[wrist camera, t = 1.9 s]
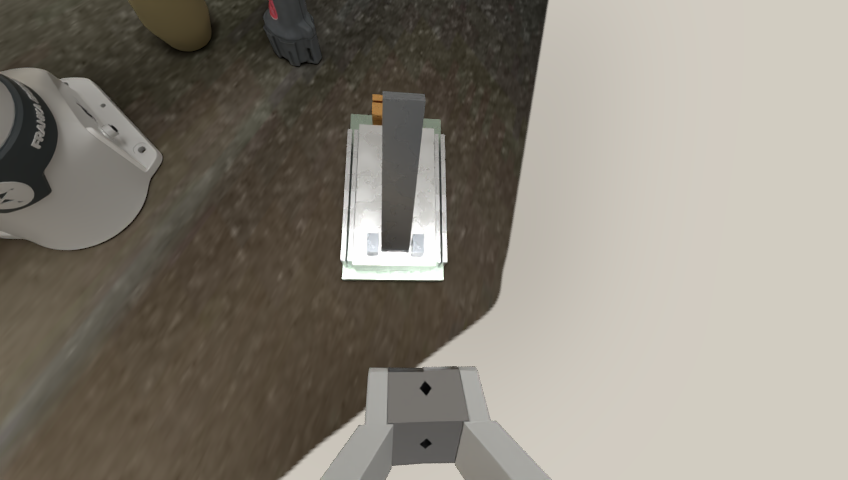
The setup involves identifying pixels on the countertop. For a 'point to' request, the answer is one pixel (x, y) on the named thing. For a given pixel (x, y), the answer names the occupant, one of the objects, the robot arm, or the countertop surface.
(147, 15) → the squeeze bottle
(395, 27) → the countertop surface
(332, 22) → the countertop surface
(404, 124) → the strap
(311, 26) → the flashlight
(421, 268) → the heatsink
